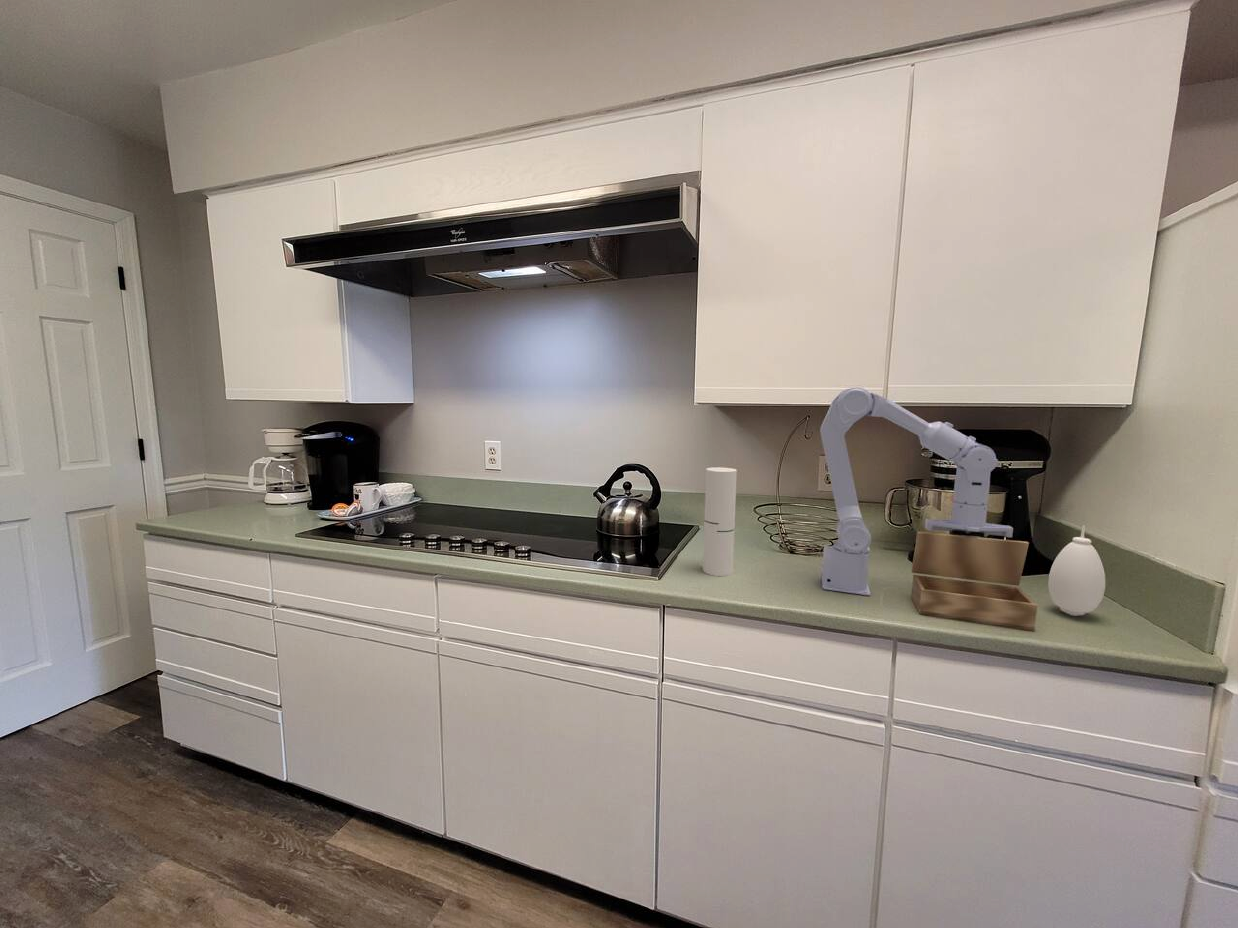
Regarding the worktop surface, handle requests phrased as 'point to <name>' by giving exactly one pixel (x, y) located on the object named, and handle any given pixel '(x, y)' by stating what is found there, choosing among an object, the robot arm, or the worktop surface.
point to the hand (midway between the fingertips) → (963, 566)
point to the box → (974, 602)
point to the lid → (969, 557)
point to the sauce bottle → (1077, 577)
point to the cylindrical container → (719, 521)
